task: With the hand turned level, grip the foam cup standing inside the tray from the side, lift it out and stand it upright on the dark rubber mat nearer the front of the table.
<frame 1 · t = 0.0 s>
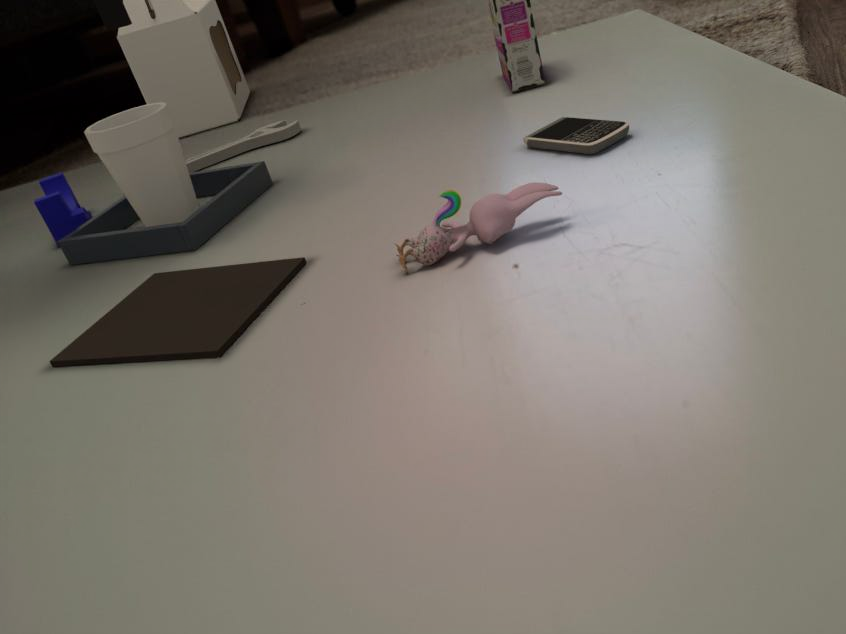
hand: (158, 11, 91), 22 cm above the table, tool pointing down, fingers open, 13 cm apart
adjustable wrench: (220, 160, 122), on the table
cable clip: (78, 228, 110), on the table
mat: (184, 312, 77), on the table
tray: (175, 222, 101), on the table
cell phone: (577, 144, 90), on the table
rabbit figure: (484, 246, 74), on the table
candy bar box: (524, 81, 117), on the table
foam cup: (176, 224, 101), on the table
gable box: (210, 117, 150), on the table
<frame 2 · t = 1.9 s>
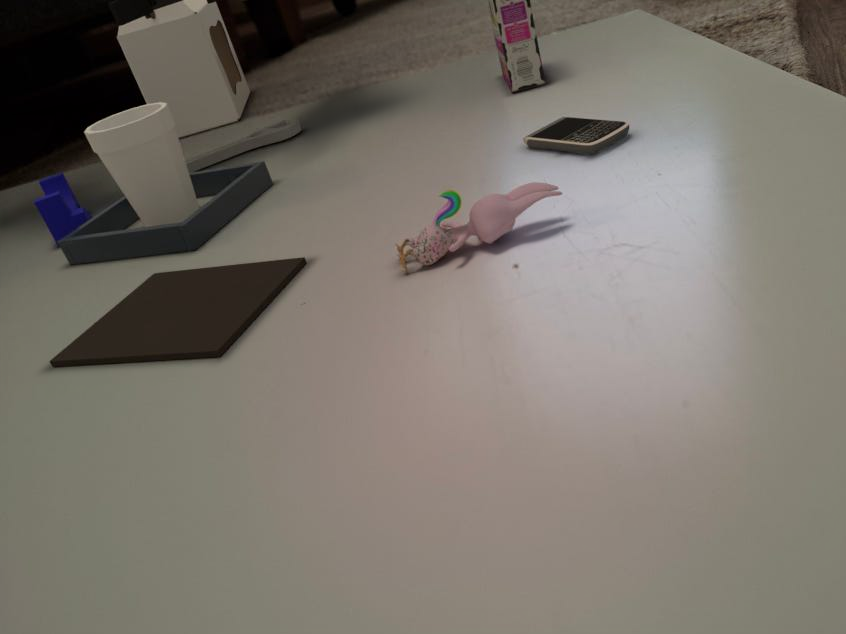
hand: (159, 3, 100), 22 cm above the table, tool horizontal, fingers open, 13 cm apart
nothing on the table moved.
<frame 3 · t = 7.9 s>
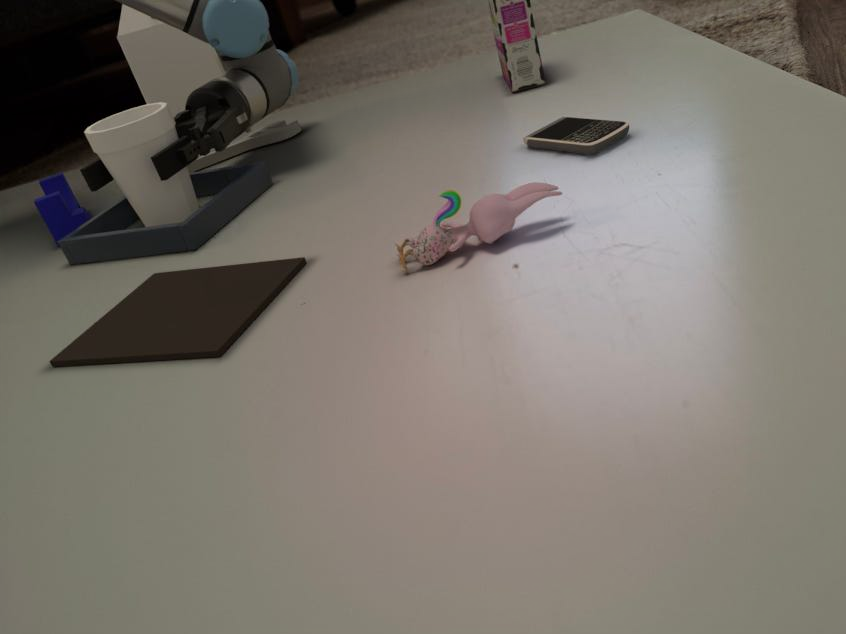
hand: (122, 174, 94), 8 cm above the table, tool horizontal, fingers closed on foam cup, 9 cm apart
foam cup: (176, 224, 101), on the table, touching gripper
everything else where it was.
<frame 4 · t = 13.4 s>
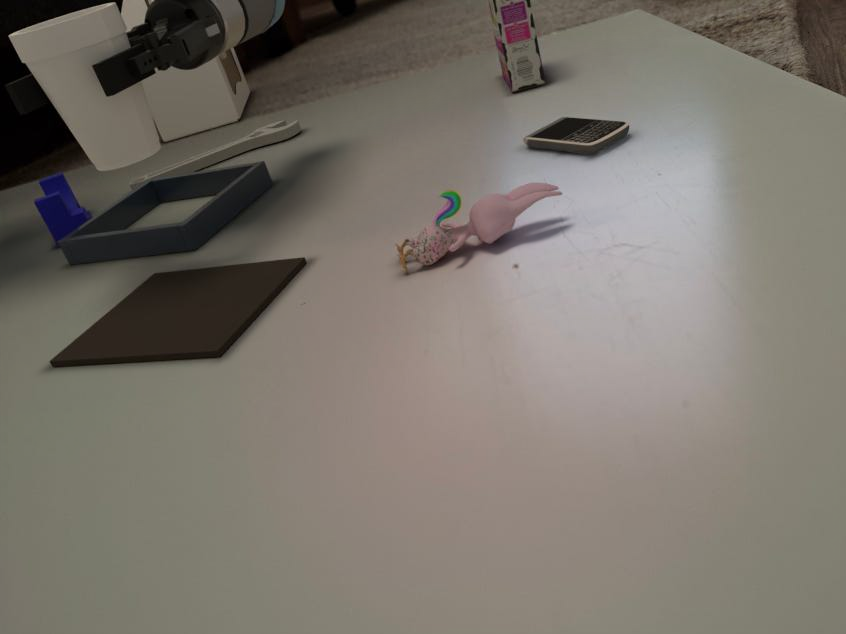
hand: (58, 90, 74), 20 cm above the table, tool horizontal, fingers closed on foam cup, 9 cm apart
foam cup: (130, 159, 81), point 12 cm above the table, touching gripper
everything else where it was.
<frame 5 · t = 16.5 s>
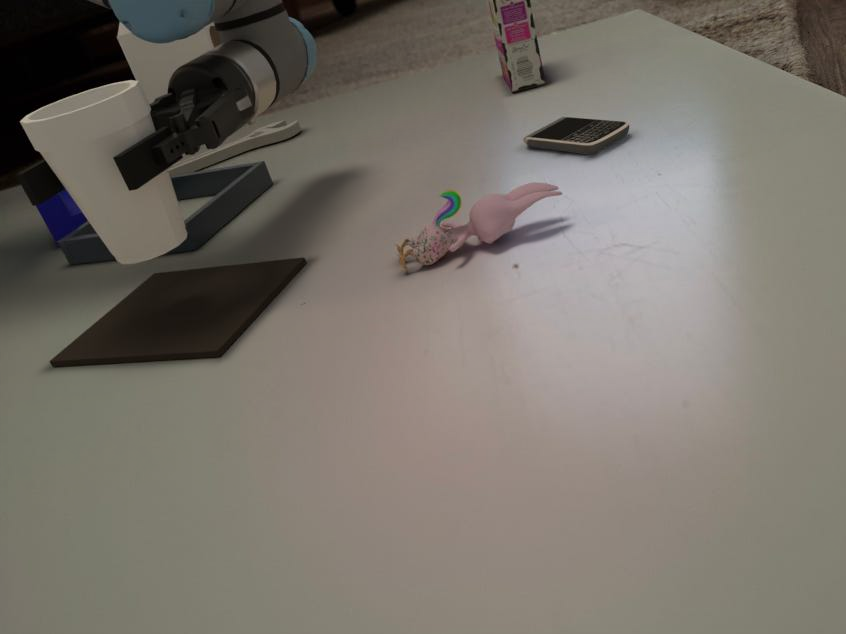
hand: (75, 182, 66), 15 cm above the table, tool horizontal, fingers closed on foam cup, 9 cm apart
foam cup: (153, 248, 74), point 7 cm above the table, touching gripper
everything else where it was.
when the fingers open (9 cm above the table, at t = 18.8 s): foam cup stays where it is, resting on mat.
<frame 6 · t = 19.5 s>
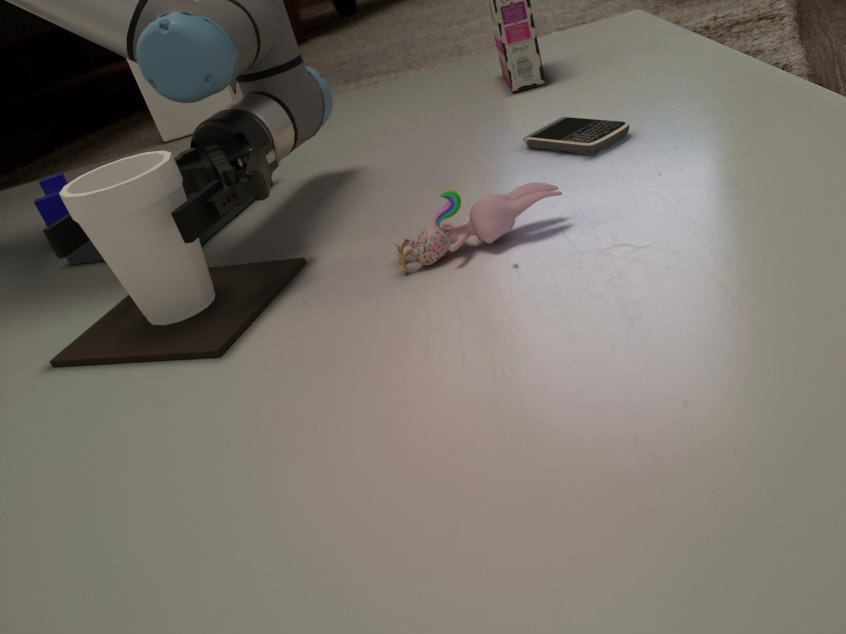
hand: (115, 236, 70), 9 cm above the table, tool horizontal, fingers open, 13 cm apart
foam cup: (183, 308, 77), resting on mat
everything else where it was.
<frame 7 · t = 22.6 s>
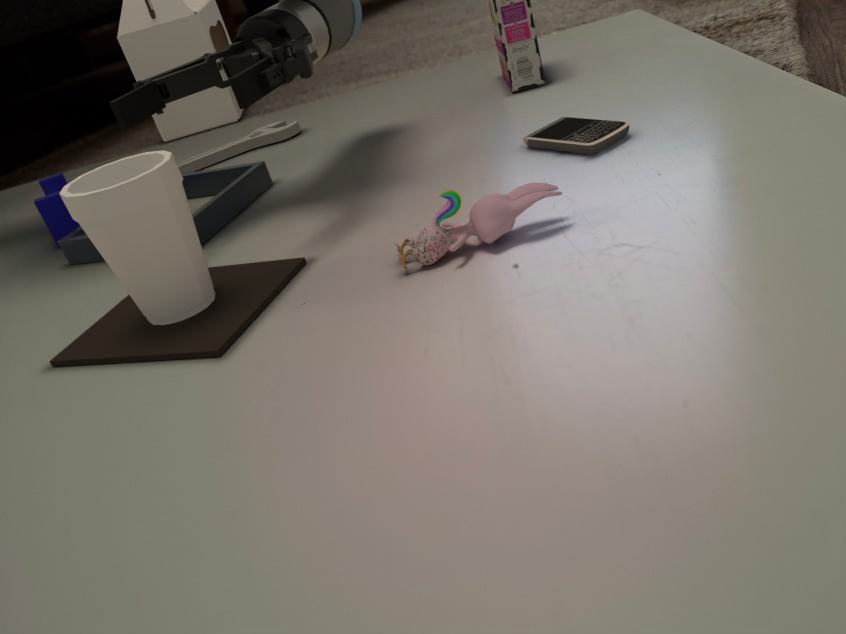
hand: (175, 105, 77), 16 cm above the table, tool horizontal, fingers open, 13 cm apart
nothing on the table moved.
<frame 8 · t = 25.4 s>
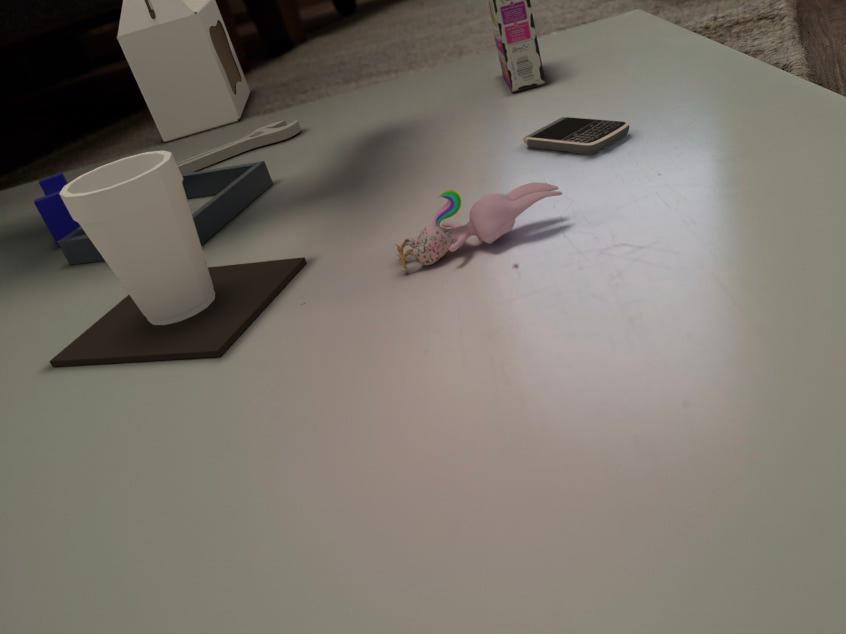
nothing on the table moved.
at the end: foam cup inside the target area on the mat (0.0 cm from its centre), point 0.4 cm above the mat's base; foam cup tilted 0°; foam cup touching mat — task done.
